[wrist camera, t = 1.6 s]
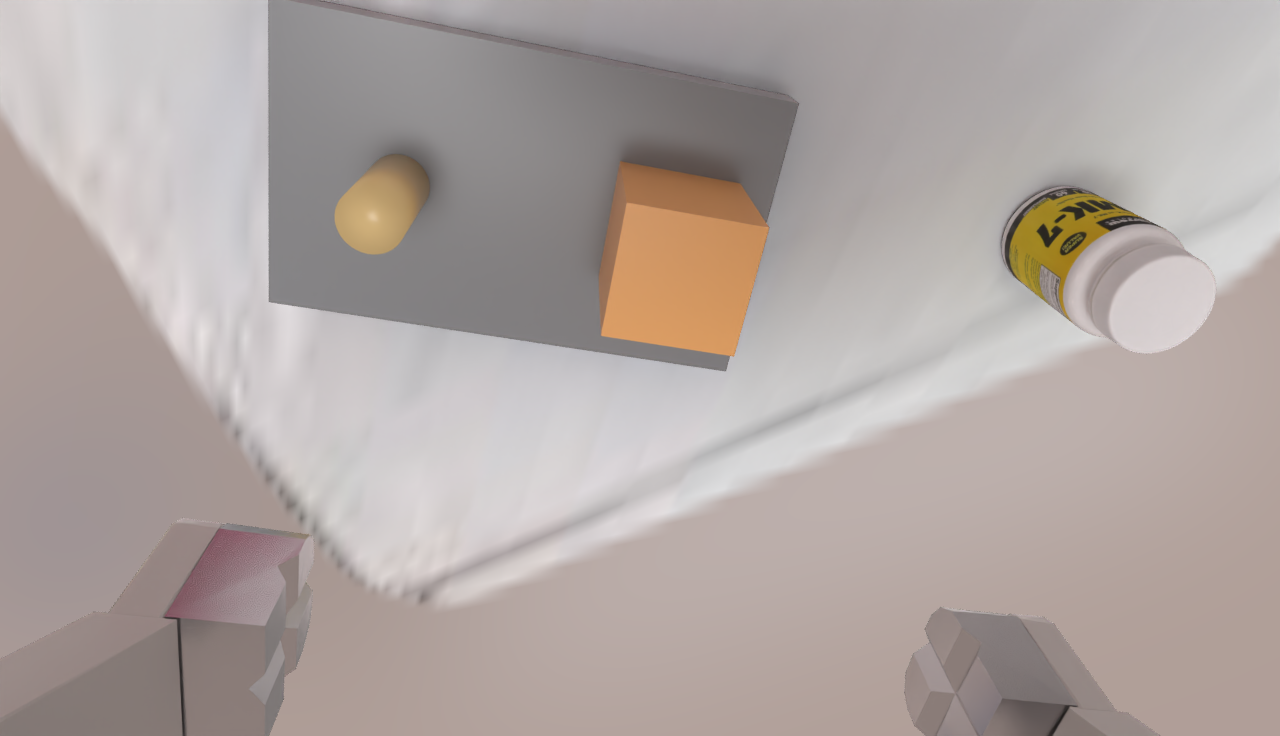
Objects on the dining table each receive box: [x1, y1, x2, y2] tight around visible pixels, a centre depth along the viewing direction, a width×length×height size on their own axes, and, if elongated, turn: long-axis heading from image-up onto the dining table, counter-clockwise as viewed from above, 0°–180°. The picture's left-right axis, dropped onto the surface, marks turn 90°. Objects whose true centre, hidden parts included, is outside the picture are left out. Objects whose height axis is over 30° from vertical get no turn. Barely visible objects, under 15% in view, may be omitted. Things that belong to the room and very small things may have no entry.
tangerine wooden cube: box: [599, 161, 769, 356], centre depth 32 cm, size 5×5×6 cm
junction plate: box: [268, 0, 799, 371], centre depth 32 cm, size 20×12×7 cm, turn 79°
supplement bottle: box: [1002, 186, 1216, 354], centre depth 34 cm, size 5×5×8 cm
